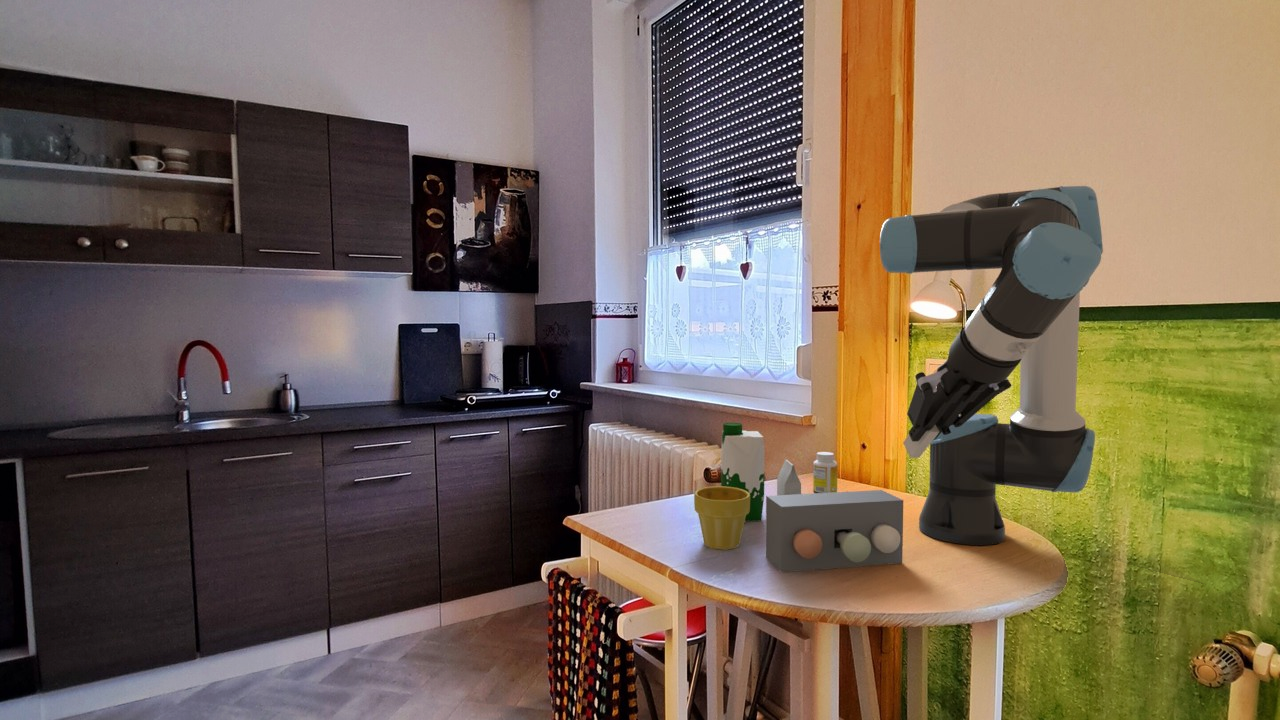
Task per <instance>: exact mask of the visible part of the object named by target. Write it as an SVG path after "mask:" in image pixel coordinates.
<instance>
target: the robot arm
mask: <svg viewBox="0 0 1280 720" xmlns="http://www.w3.org/2000/svg"><path fill="white" fill-rule="evenodd" d="M1098 203H1099V202H1098V198H1097V193H1096V191H1095V190H1094V189H1093V188H1092V187H1091V186H1087V185H1074V186H1073V185H1071V186H1069V185H1068V186H1067V185H1066V186H1063V185H1061V186H1057V187H1055V186H1054V187H1048V188H1039V189H1038V188H1037V189H1030V190H1021V191H1012V192H1004V193H1003V192H1002V193H998V192H997V193H991V194H986V195H981V196H978V197H974V198H970V199H967V200H964V201H960V202H957V203H952V204H950V205H948V206H946V207H945V208H943V209H942V210H941V211H938V212H931V213H923V214H913V215H912V214H905V215H904V216H903V215H902V216H895V217H890V218H888V219H886V220H885V221H884V222H883V224H882V227H881V230H880V233H879V234H880V235H879V255H880V262H881V265H882V267H883V269H884V270H885V271H886V272H887V273H893V274H895V273H896V274H898V273H899V274H903V273H904V274H908V275H911V274H914V273H915V274H916V273H917V274H918V273H929V272H932V273H933V272H949V271H964V270H967V271H972V270H991V269H992V270H994V269H998V270H999V269H1001V270H1000V272H999V274H998V276H997V278H996V279H995V281H994V282H993V284H991V287H990V288H989V290H988V291H987V293H986V294H985V296H984V297H983V298H982V299H981V301H980V302H979V303H978V305H977V306H976V308H975V309H974V310H973V312H972V313H971V315H970V316H969V317H968V319H967V321H966V322H965V324H964V326H963V327H962V328H961V329H960V331H959V332H958V334H957V335H956V337H955V338H954V340H953V341H952V343H951V344H950V346H949V350H948V355H947V356H948V357H947V359H946V361H945V362H943V363H942V364H941V365H939V366H938V368H937V370H936V372H934V373H930V374H928V375H926V374H925V372H921V371H920V372H918V373H917V374H916V375H915V380H916V381H915V382H916V386H915V389H914V392H913V395H912V398H911V401H910V404H909V406H908V410H907V413H906V415H907V417H908V419H909V421H910V423H911V425H912V426H911V428H910V429H909V430H908V435H907V437H906V438H905V439H904V441H903V442H902V443H903V445H904V448H905V449H906V450H905V451H906V452H907V453H908V456H909V458H910V459H913V458H914V459H915V458H916V459H917V458H921V456H922V455H923V454H924V453H925V451H926V450H927V449H928V448H929V487H928V489H929V490H928V494H927V496H926V499H925V502H924V504H923V507H922V508H921V512H920V514H919V521H918V528H919V531H920V532H921V533H923V534H925V535H927V536H929V537H931V538H934V539H936V540H941V541H944V542H948V543H954V544H960V545H968V546H970V545H971V546H989V545H990V546H991V545H997V544H1001V543H1003V542H1004V541H1005V539H1006V526H1005V523H1004V519H1003V516H1002V514H1001V511H1000V507H999V505H998V502H997V499H996V492H997V491H996V489H997V488H996V486H999V485H1000V486H1007V487H1014V488H1015V487H1016V488H1023V489H1024V488H1025V489H1031V490H1040V491H1050V492H1051V493H1057V492H1061V493H1063V492H1064V493H1074V494H1075V493H1079V492H1081V491H1082V490H1083V489H1084V488H1085V487H1086V485H1087V483H1088V479H1089V475H1090V471H1091V466H1092V462H1093V458H1094V457H1093V456H1094V455H1093V454H1094V449H1095V448H1094V447H1095V441H1096V434H1095V431H1094V430H1093V429H1090V428H1088V427H1087V428H1086V419H1085V418H1084V417H1083V416H1082V415H1081V414H1080V413H1079V412H1077V411H1076V409H1077V408H1076V407H1077V405H1076V404H1077V381H1078V380H1077V379H1078V359H1079V357H1078V356H1079V355H1078V353H1079V352H1078V351H1079V327H1080V326H1079V325H1080V324H1079V323H1080V300H1081V298H1080V297H1081V295H1080V294H1081V291H1082V290H1083V288H1086V286H1087V285H1088V283H1089V281H1090V278H1091V277H1092V275H1093V274H1094V272H1095V271H1096V270H1097V269H1098V267H1099V265H1100V263H1101V261H1102V255H1103V253H1104V245H1103V237H1102V236H1103V235H1102V225H1101V217H1100V210H1099V204H1098ZM1019 364H1020V366H1019V368H1020V369H1019V370H1020V371H1019V408H1017V409H1016V410H1015V411H1014V412H1012V413H1011V414H1010V416H1009V423H1003V422H1002V423H1001V422H1000V423H999V419H998V417H997V415H995V414H989V413H988V414H985V413H978V412H979V411H980V410H981V409H982V408H985V406H987V404H988V403H990V402H991V401H992V400H993V399H994V398H995V397H997V395H1000V394H1001V393H1003V392H1006V390H1008V389H1010V388H1011V387H1012V384H1011V382H1010V380H1009V379H1008V377H1009V376H1011V373H1013V372H1014V370H1015V369H1016V368H1017V366H1018V365H1019Z"/></svg>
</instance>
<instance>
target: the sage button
mask: <svg viewBox="0 0 1280 720" xmlns="http://www.w3.org/2000/svg"><path fill="white" fill-rule="evenodd" d="M835 540H836V542H837V543H839V544H840V548H841V552H842V553H843V555H844V556H846V557H847V558H848V559H850V560H851V561H853V562H861V561H864V560H865V559H866V558H867V557H868V556H869V554H870V551H871V544H870V542H869V540H868V539H867V538H866V537H864V536H863V535H861V534H860V533H858V532H850V533H848V534H847V533H846V532H844V531H839V532H837V534H836V536H835Z"/></svg>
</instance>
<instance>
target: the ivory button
mask: <svg viewBox="0 0 1280 720" xmlns="http://www.w3.org/2000/svg"><path fill="white" fill-rule="evenodd" d="M871 543H872V544H873V546H874V547H875V548H877V549H878V550H880V551H882V552H884V553H891V552H893V551H895V550H896V549H897V548H898V546H899V544H900V534H899V532H898V531H897V530H896V529H894V528H893V527H891V526H889V525H887V524H880V525H878V526H876V527H873V531H872V533H871Z"/></svg>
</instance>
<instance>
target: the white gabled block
mask: <svg viewBox="0 0 1280 720" xmlns="http://www.w3.org/2000/svg"><path fill="white" fill-rule="evenodd" d="M776 478H777V479H776V482H777V483H776V492H777V493H776V495H794V494H802V482H801V481H800V478H799V476H798V474H797V471H796V469H795V465H794V464H793V463H791V462H790V461H789V460H788V459H784V462H783V464H782V467H781V469H780V471H779V473H778V475H777V477H776Z"/></svg>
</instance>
